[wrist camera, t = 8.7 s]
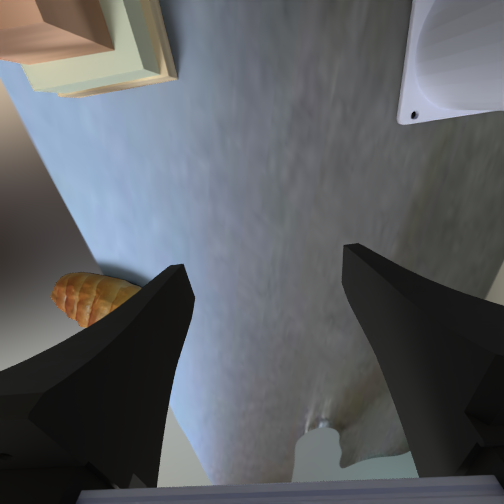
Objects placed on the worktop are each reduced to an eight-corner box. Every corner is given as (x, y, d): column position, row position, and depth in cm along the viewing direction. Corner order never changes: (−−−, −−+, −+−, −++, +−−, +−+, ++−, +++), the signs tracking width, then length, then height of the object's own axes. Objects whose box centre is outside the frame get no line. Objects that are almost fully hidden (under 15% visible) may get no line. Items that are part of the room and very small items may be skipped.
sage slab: (116, -84, 11) (83, -129, 9) (160, 74, 14) (143, 68, 12) (0, -53, 12) (-57, -89, 10) (66, 93, 15) (34, 91, 13)
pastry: (60, 301, 26) (32, 328, 23) (67, 253, 23) (36, 277, 20) (146, 329, 29) (131, 358, 25) (162, 289, 25) (148, 315, 22)
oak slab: (141, -79, 13) (118, -116, 11) (180, 80, 16) (168, 76, 14) (21, -50, 14) (-23, -79, 11) (83, 98, 17) (58, 96, 15)
